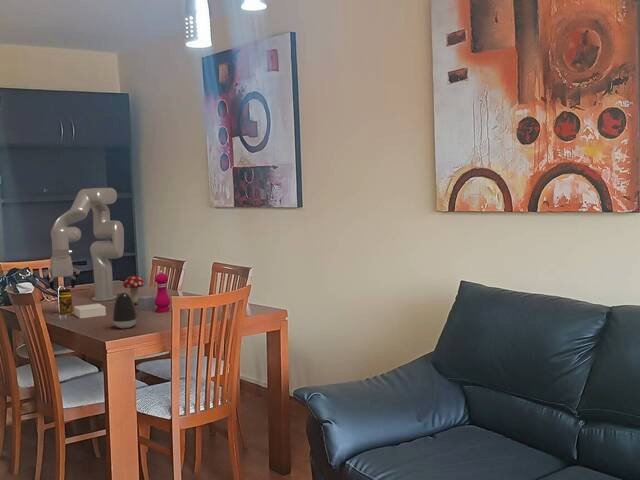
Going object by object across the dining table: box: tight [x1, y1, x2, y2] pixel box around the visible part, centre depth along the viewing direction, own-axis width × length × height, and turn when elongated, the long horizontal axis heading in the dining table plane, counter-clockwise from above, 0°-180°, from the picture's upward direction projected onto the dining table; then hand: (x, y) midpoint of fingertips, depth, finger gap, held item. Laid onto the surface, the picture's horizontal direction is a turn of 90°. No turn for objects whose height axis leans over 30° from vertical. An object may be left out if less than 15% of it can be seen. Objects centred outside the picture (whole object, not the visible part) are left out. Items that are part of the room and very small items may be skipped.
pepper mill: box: [154, 270, 171, 313], centre depth 348 cm, size 7×7×20 cm
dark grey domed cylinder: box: [111, 292, 138, 329], centre depth 314 cm, size 10×10×15 cm
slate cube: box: [137, 295, 157, 311], centre depth 357 cm, size 6×6×6 cm
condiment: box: [52, 288, 74, 316], centre depth 351 cm, size 7×8×12 cm
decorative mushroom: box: [122, 275, 145, 306], centre depth 370 cm, size 11×11×15 cm
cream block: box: [73, 303, 107, 319], centre depth 346 cm, size 12×12×4 cm
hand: (62, 288), depth 350 cm, fingers open, 9 cm apart
